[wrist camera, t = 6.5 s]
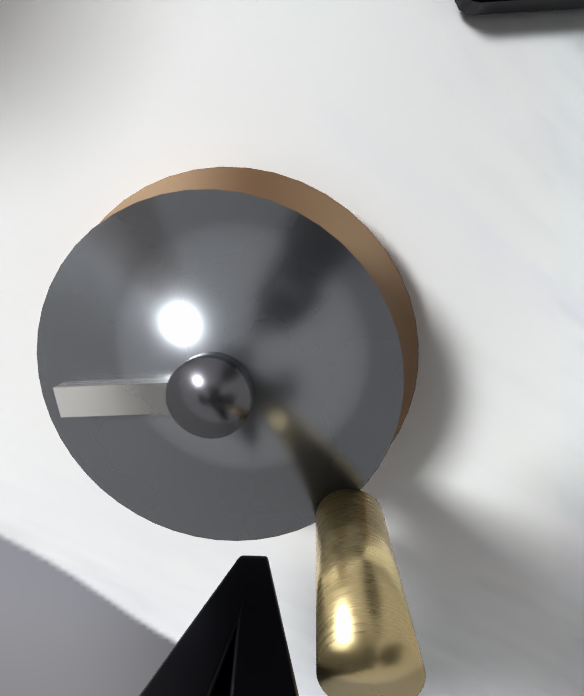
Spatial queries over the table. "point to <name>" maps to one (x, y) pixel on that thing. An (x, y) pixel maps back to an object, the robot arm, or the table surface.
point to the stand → (327, 217)
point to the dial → (241, 400)
